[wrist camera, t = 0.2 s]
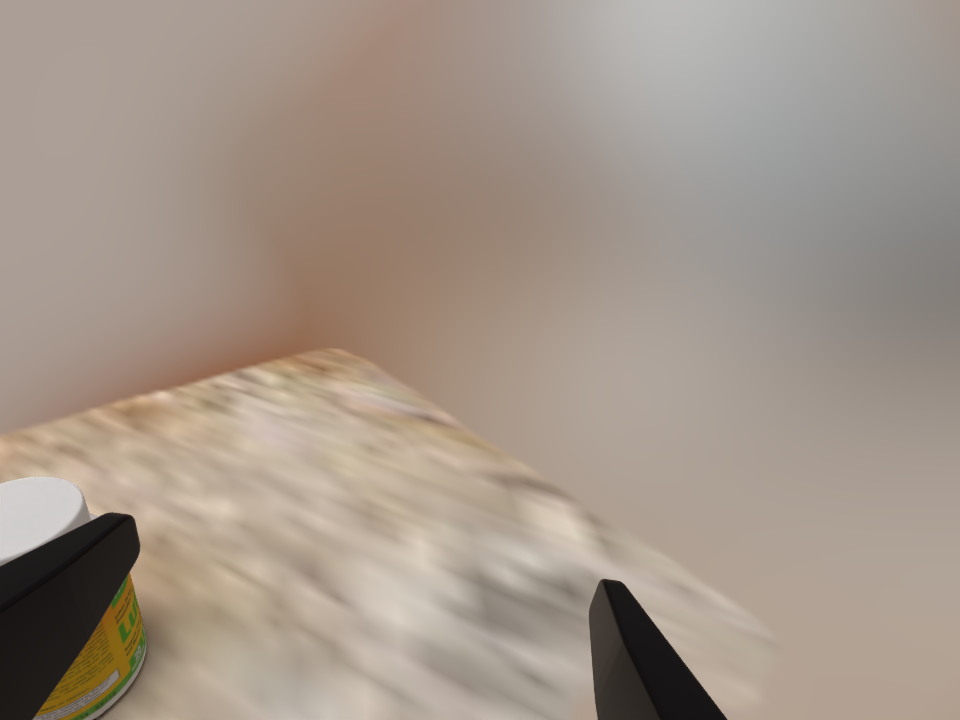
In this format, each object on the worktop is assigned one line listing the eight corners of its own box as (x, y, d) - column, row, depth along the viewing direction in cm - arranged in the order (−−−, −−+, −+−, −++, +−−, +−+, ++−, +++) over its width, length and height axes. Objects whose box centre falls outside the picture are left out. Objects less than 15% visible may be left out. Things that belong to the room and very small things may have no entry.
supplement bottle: (163, 683, 21) (124, 530, 17) (-6, 783, 18) (-116, 621, 13) (131, 594, 24) (91, 445, 20) (-18, 663, 21) (-110, 499, 16)
